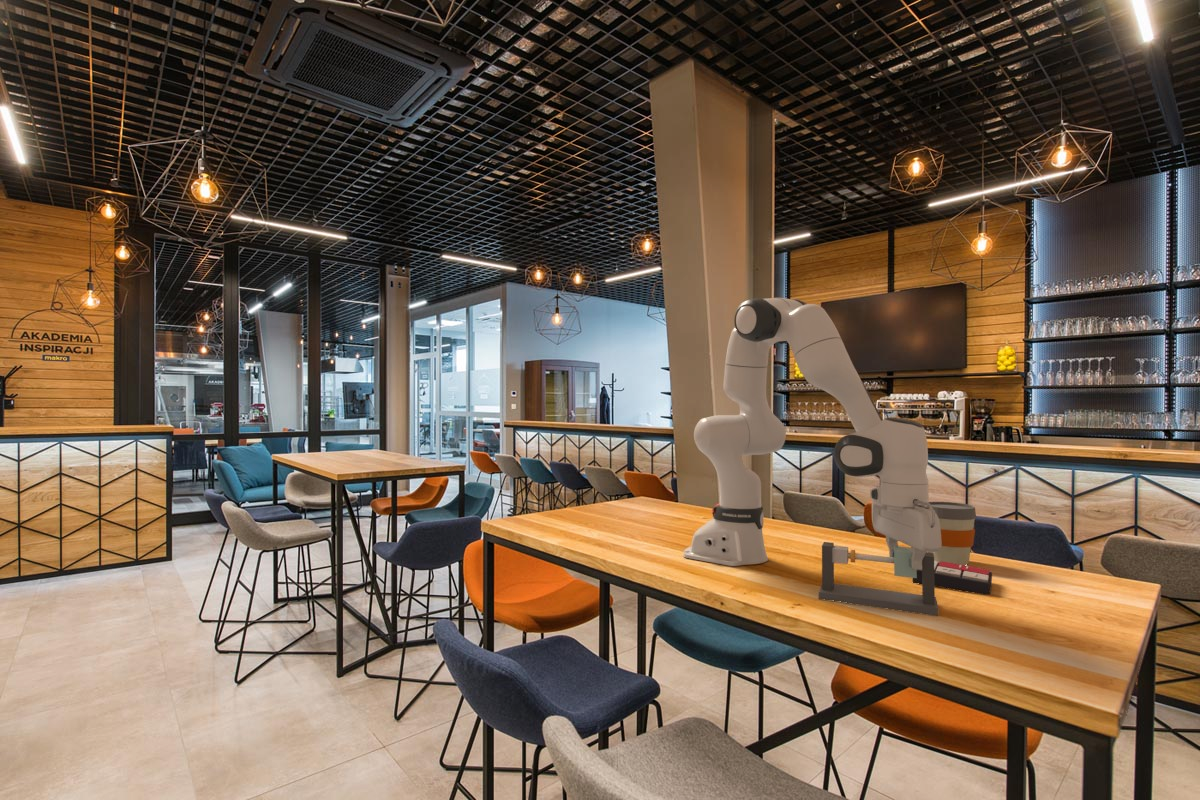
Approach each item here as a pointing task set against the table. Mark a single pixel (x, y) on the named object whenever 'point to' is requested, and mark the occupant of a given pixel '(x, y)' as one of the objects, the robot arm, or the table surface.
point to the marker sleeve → (903, 562)
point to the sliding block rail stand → (876, 596)
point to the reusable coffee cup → (955, 531)
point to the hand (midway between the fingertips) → (904, 563)
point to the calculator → (959, 577)
